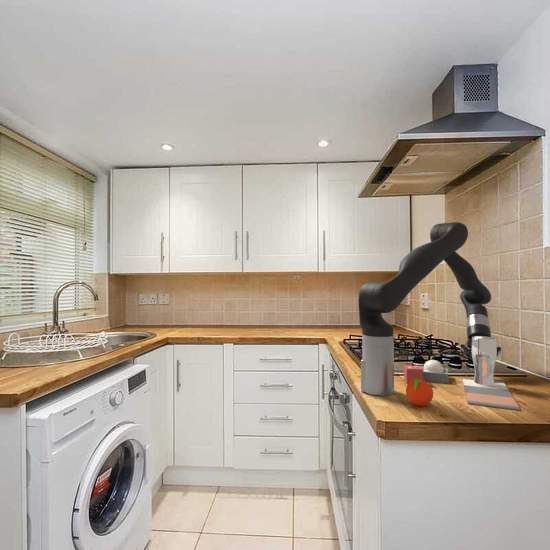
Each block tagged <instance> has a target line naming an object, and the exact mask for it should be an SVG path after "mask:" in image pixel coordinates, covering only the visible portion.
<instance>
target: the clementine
mask: <svg viewBox="0 0 550 550" xmlns="http://www.w3.org/2000/svg"><path fill="white" fill-rule="evenodd" d="M405 393H406V397H407V399H408V400H409V401H410V403H412V404H414V405H415V406H418V405H419V407H422V406H427V405H428V404H431V402H432V400H433V398H434V390H433V388H432V386H431V385H430V383H429V382H428V381H425V380H421V379H414V380H412V381H410V382H409V383H408V384H406V387H405Z"/></svg>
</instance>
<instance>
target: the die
mask: <svg viewBox="0 0 550 550" xmlns="http://www.w3.org/2000/svg"><path fill="white" fill-rule="evenodd" d="M420 366H421V365H411V364H410V365H406V364H405V365H403V381H404V382H405V384H406V385H408V383H409V382H410V381H412V380H414V379H421V380H423V369H422V368H421V367H420Z"/></svg>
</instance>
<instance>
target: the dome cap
mask: <svg viewBox="0 0 550 550" xmlns="http://www.w3.org/2000/svg"><path fill="white" fill-rule="evenodd" d="M423 366H424V368H423V371H427V372H437V373H444V369H443V368H444V366H443V364H442V363H441V362H440V361H438V360H435V359H429V360H427V361H426V362H425V363H424V364H423Z"/></svg>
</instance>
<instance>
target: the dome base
mask: <svg viewBox="0 0 550 550" xmlns="http://www.w3.org/2000/svg"><path fill="white" fill-rule="evenodd" d="M419 366H420V367H421V368H422V369H423V368H424V365H419ZM448 368H449V367H448ZM448 368H447V367H443V369H444V373H437V372H427V371H423V380H425V381H426V382H431V383H442V384H449V369H448Z"/></svg>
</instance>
